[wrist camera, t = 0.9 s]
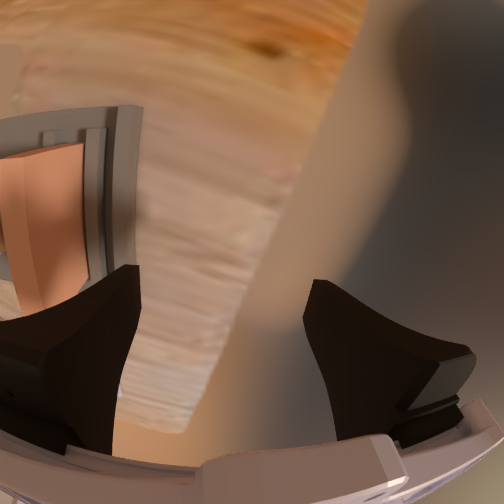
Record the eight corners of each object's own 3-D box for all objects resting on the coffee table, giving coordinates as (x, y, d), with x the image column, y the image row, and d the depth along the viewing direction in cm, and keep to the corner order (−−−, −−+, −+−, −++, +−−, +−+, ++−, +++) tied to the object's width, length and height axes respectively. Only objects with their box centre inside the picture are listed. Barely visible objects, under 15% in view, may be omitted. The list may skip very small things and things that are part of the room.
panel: (93, 270, 20) (51, 333, 13) (73, 267, 20) (27, 327, 13) (90, 142, 16) (23, 157, 9) (67, 143, 16) (-3, 159, 9)
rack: (137, 294, 23) (130, 311, 20) (-4, 272, 20) (-17, 284, 17) (143, 107, 17) (133, 105, 14) (-18, 124, 14) (-35, 127, 11)
